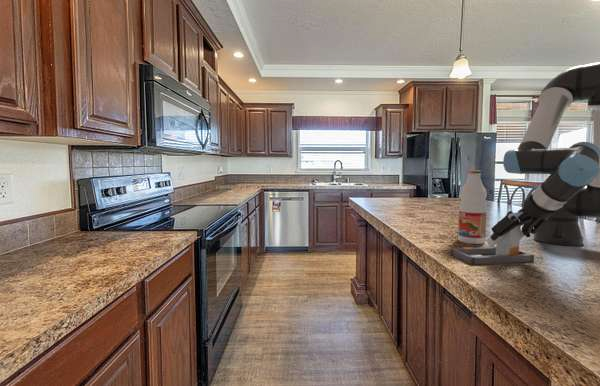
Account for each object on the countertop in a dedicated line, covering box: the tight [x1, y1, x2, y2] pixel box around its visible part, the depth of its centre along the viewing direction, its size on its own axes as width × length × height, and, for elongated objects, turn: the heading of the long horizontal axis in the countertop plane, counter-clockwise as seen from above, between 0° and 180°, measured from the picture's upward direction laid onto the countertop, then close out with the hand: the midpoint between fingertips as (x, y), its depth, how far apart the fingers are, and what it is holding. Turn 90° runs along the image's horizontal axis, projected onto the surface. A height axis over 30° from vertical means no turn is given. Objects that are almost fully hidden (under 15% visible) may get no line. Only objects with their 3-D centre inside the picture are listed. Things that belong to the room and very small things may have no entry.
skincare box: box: [495, 220, 522, 256], centre depth 106 cm, size 6×4×12 cm
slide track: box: [450, 245, 535, 266], centre depth 105 cm, size 21×11×2 cm, turn 97°
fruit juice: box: [457, 169, 488, 245], centre depth 126 cm, size 9×9×28 cm
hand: (499, 243), depth 109 cm, fingers closed on skincare box, 7 cm apart
